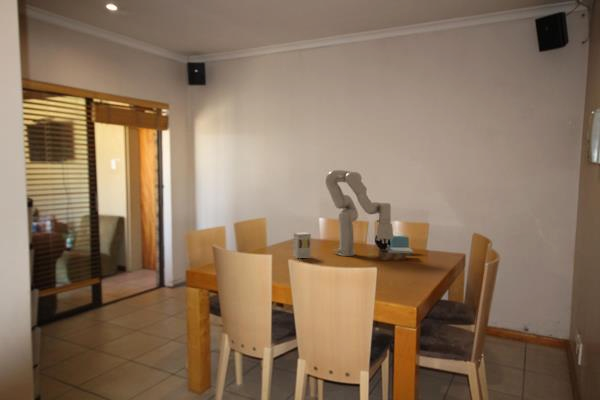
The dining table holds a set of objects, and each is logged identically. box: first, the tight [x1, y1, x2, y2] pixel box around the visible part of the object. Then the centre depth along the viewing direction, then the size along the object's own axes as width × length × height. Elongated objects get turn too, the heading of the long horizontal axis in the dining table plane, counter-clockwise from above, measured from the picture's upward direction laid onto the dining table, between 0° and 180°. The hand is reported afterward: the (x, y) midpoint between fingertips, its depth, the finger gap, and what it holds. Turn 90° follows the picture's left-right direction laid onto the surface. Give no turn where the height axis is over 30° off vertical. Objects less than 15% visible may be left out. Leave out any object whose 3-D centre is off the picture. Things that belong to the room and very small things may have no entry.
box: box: [377, 249, 407, 261], centre depth 280 cm, size 16×11×5 cm
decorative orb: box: [374, 234, 390, 250], centre depth 312 cm, size 14×15×15 cm
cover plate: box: [386, 245, 414, 255], centre depth 280 cm, size 16×13×5 cm
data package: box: [390, 235, 410, 248], centre depth 298 cm, size 12×4×12 cm, turn 93°
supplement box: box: [293, 231, 312, 260], centre depth 285 cm, size 10×9×17 cm
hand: (384, 249), depth 280 cm, fingers closed
